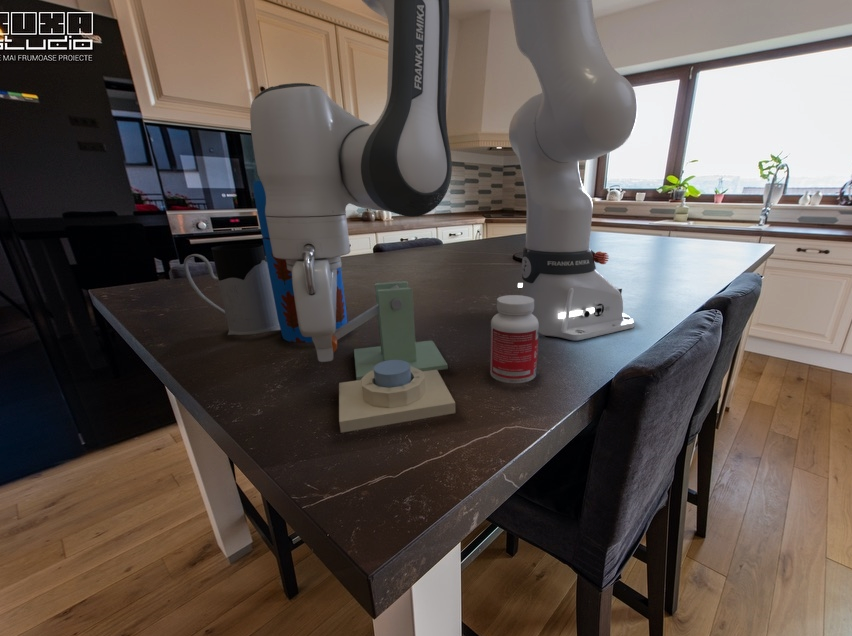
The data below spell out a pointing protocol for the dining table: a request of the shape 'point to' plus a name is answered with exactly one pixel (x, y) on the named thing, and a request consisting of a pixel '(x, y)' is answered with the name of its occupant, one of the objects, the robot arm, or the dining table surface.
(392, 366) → the power button
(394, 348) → the green lever stand
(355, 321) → the switch lever
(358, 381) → the control block
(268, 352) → the dining table surface
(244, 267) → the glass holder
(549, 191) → the robot arm
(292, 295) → the thermos
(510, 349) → the pill bottle
